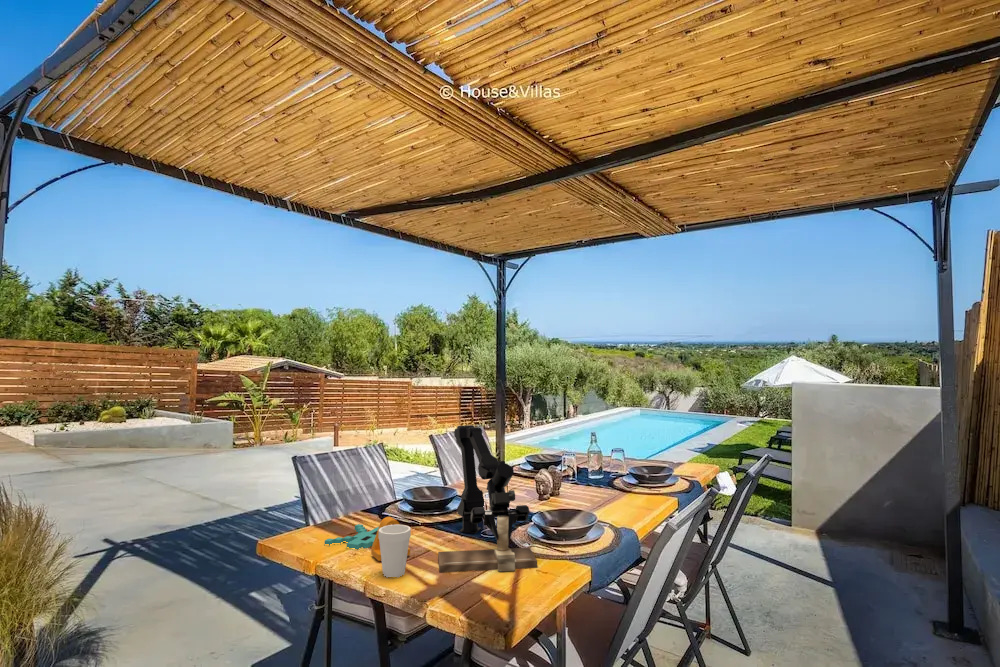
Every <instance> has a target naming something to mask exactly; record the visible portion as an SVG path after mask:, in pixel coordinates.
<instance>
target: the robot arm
mask: <svg viewBox="0 0 1000 667" xmlns="http://www.w3.org/2000/svg"><path fill="white" fill-rule="evenodd" d="M453 433H454V437H455V441H456V442H455V443H456V444H457V446H458V447H459V448H460V450H461V461H462V472H463V473H462V474H463V482H464V484H463V485H464V488H463V491H462V493H461V496H460V499H461V500H460V502H459V504H458V506H457V514H458V515H459V516H461V517H462V528H461V529H459V533H467V534H474V535H475V534H477V533H479V531H480V530H482V527H479V524H481V523H482V522H483V523H482V524H483V525H484V526H486V527H487V528H488V529H489V530H490V531H491V533H492V535H493V536H494V538H495V540H496V541H497V540H498V532H497V523H496V520H495V519H496V518H497V516H500V515H505V516H508V540H510V539H511V537H512V536H511V535H512V532H513V531H512V529H513V525H514V524H516V523H517V522H526V521H528V518H529V514H530V508H529V506H528V505H527V504H522V505H520V504H519V505H516V506H515V509H509V508H510V504H511V502H514V501H515V500H516V493H515V490H512V489H511V490H508V492H506V488H505V487H507V486H508V484H509V482H510V481H511V479H512V478H513V476H514V473H515V471H514V468H513V467H512V466H511V464H510V465H509V464H508V463H506V461H505V460H498V458H497V457H495V456H494V455H492V453H491V451H490V449H489V446H488V444H487V442H486V440H485V438H484V435H483V430H482V427H479V426H475V425H473V424H469V425H467V424H465V425H458V426H456V428H455V429H454V431H453ZM475 455H476V457H477V459H478V462H479V463H478V467H477V469H476V461H475ZM477 470H478V475H479V477H480V479H482V480H485V481H486V480H488V481H487V486H486V490H487V493H488V501H489V508H490V509H485V505H484V502H485V499H484V492H483V489H482V490H481V489H480V488H479V486H478V479H477ZM483 506H484V507H483Z"/></svg>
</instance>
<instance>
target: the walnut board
mask: <svg viewBox="0 0 1000 667" xmlns="http://www.w3.org/2000/svg"><path fill="white" fill-rule="evenodd" d="M494 549H495V548H494ZM494 549H471V550H469V549H468V550H448V551H447V550H446V551H438V554H437V557H438V559H437V560H438V571H439V573H451V572H452V573H454V572H455V573H456V572H457V571H459V572H469V571H468V570H478V571H494V570H495V571H498V562H497V559H496V556H495V554H494ZM510 549H511V551H512V552H514V554H515V570H517V569H531V568H532V569H536V568H538V559H537V558H536V556H535V555H534V553H533V552H532V550H531V548H530V547H517V548H510Z"/></svg>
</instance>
